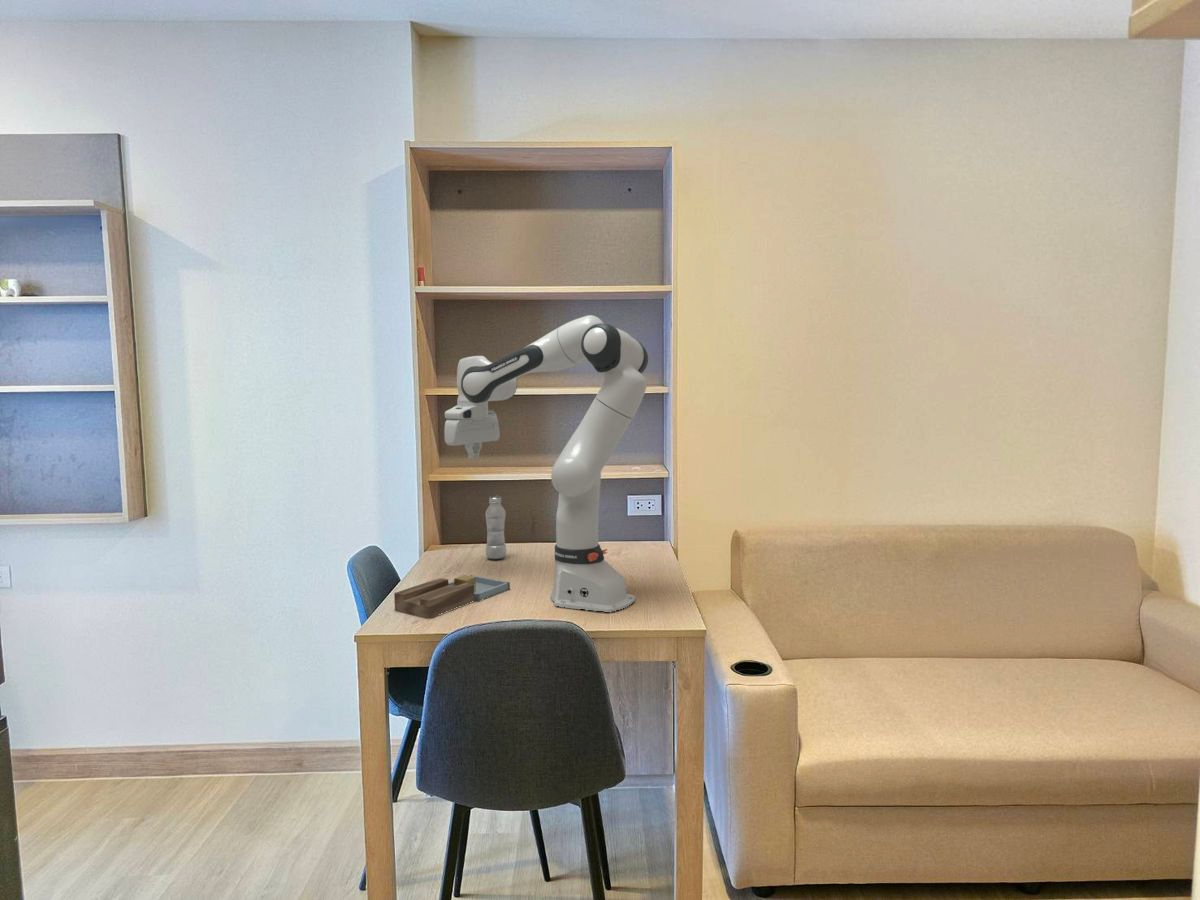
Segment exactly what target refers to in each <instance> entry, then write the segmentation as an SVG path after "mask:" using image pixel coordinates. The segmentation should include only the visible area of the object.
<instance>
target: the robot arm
mask: <svg viewBox="0 0 1200 900" xmlns="http://www.w3.org/2000/svg"><path fill="white" fill-rule="evenodd" d="M586 360H587V361H588V362H589V364H591V365H592V367H593V368H594V369H595V371H596V372H598V373H602V374H603V377H604V378H603V382H602V385H601V387H600V389H599V390H598V392H597V394H596V396H595V397H594V398H593V401H592V403H591V404H590V406H589V408H588V409H587V411H586V412H585V415H584V417H583V418H582V420H581V421H580V423H579V425H578V426H577V428H576V429H575V431H574V433H573V434H572V435H571V436H570V438H569V440H568V441H567V443H566V444H565V446H564V447H563V450H562V451H561V453H560V454H559V455H558V457H557V459H556V460H555V462H554V464H553V466H552V469H551V472H550V473H551V475H550V478H551V480H550V481H551V485H552V486H553V488H554V489H555V490H556V491H557V492H558V500H557V509H556V515H555V532H556V533H555V539H556V542H555V545H554V560H555V574H554V581H553V585H552V586H553V587H552V591H551V594H550V600H551V601H552V602H554V604H553V605H554V607H557V606H559V607H558V608H564V607H565V608H566V609H572V610H574V609H575V610H580V609H585V610H584V611H588V610H594V611H593V612H596V611H604V612H610V611H615V612H617V611H616V610H619V611H621V610H620V609H622V610H624V609H626V608H628V607H630V606H631V605H630V604H632V603H633V602H634V601H635V602H636V596H635V595H633V594H630V593H628V592H627V585H626V581H625V578H624V576H623V575H621V573H619V572H618V571H617V570H616V569H615V568H613V566H612V565H610V564H609V563H608V561H606V560H605V556H604V555H605V554H607V553H608V552H607V551H608V548H605V549H602V548H601V545H600V544H599V510H600V509H599V508H600V499H601V498H600V497H601V484H602V483H601V482H602V480H601V479H602V477H601V476H602V470H603V469H604V467H605V466H606V464H607V462H608V460H609V459H610V458H611V456H612V455H613V453H614V452H615V449H616V448H617V446H618V445H619V443H620V442H621V439H622V437H623V436H624V435H625V432H626V431H627V429H628V427H629V426H630V424H631V422H632V421H633V419H634V417H635V415H636V414H637V411H638V410H639V408H640V405H641V403H642V401H643V398H644V395H645V393H646V389H647V387H648V386H647V385H648V384H647V380H646V378H645V377H644V375H643V373H644V371H645V370H646V368H647V366H648V365H649V364H648V363H649V354H648V351H647V349H646V348H645V346H644V345H643V343H641V342H640V341H639V340H637V339H635V338H634V337H632V336H631V335H630V334H629V333H627V332H626V331H624V330H622V329H620V328H617V327H615V326H614V325H612V324H609V323H608V324H607V323H604V322H603V320H602V319H600V317H598V316H595V315H592V314H589V315H585V316H581V317H579V318H575V319H573V320H570V321H568V322H566V323H564V324H562V325H560V326H559V327H557V328H555V329H554V330H552V331H549V332H548V333H547V334H545V335H544V336H541V337H540V338H539V339H536V340H535V341H534V342H531V343H530V344H528V345H526V346H525V347H523V348H521V349H519V350H517V351H515V352H512V353H511V354H509V355H506V356H504V357H502V358H500V359H498V360H496V361H494V362H491V361H490V360H489V359H488V358H487V357H485V356H484V355H481V354H480V355H479V354H474V355H468V356H464V357H462V358H460V359H459V360H458V364H457V369H456V388H457V391H458V396H457V401H456V402H457V404H456V405H455V406H453V407H452V408H450V409H448V410H446V411H444V418H445V419H446V421H445V422H444V443H445V444H446V445H447V446H454V447H455V446H463V445H464V448H465V450H466V452H467V458H468V460H475V459H479V458H480V452H481V449H482V447H483V443H488V442H497V441H499V439H500V437H501V435H500V434H501V433H500V425H499V419H498V416H497V413H496V412H495V411H494V410H493V409H489V402H497V401H506V400H508V399H510V398H512V397H514V395H515V394H516V392H517V389H518V379H517V378H519V377H521V376H524V375H527V374H532V373H549V372H560V371H562V370H566V369H569V368H572V367H574V366H576V365H578V364H581V363H582V362H584V361H586ZM635 602H634V603H635ZM634 603H633V604H634ZM633 604H632V605H633ZM629 605H630V606H629ZM627 606H628V607H627ZM625 607H626V608H625ZM623 608H624V609H623ZM604 612H603V613H604ZM610 613H611V612H610Z"/></svg>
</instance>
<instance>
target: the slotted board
mask: <svg viewBox="0 0 1200 900" xmlns="http://www.w3.org/2000/svg"><path fill="white" fill-rule="evenodd" d="M448 583H449V579H448V578H443V577H442V578H441V577H439V578H436V579H433V580H430V581H427V582H424V583H420V584H418V585H414V586H411V587H408V588H405V589H402V590H399V591H396V592H394V597H393V598H394V611H396V612H400V613H403V614H408V615H411V614H412V615H413V616H415V615H416V617H419V616H420V618H424V617H425V618H424V619H428V618H431V619H432V617H433V618H435V617H434V616H436V617H438V616H440V615H439V614H441V613H443V614H445V613H444V612H446V611H449V610H451V609H454V608H456V607H459V606H462V605H464V606H466V605H465V604H467V603H469V604H471V603H470V602H472V601H474V585H473V584H468V583H464V584H461V585H458V586H451V585H449V584H448ZM474 602H475V601H474ZM472 603H473V602H472ZM467 605H468V604H467ZM462 607H463V606H462ZM459 608H460V607H459ZM456 609H457V608H456ZM454 610H455V609H454ZM451 611H452V610H451ZM449 612H450V611H449ZM446 613H447V612H446ZM437 615H438V616H437ZM441 615H442V614H441Z"/></svg>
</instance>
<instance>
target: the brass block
mask: <svg viewBox="0 0 1200 900" xmlns="http://www.w3.org/2000/svg"><path fill="white" fill-rule="evenodd" d="M453 581H454V586H458V585H461V584H464V583H468V584H473V585H474V592H476V579H475V577H473V576H470V575H467V574H464V575H463V574H462V575H460V576H458V577H455V578H453Z"/></svg>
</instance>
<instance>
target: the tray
mask: <svg viewBox="0 0 1200 900" xmlns="http://www.w3.org/2000/svg"><path fill="white" fill-rule="evenodd" d="M469 576H473V577H475V579H476V592H474V602H476V601H479V602H481V601H480V600H482V599H484V600H486V599H485V598H487V597H489V598H491V597H490V596H492V597H494V596H497V595H499V594H502V593H504V591H505V592H507V591H509V590H510V589H511V588H510V587H511V583H510V581H505V580H501V579H495V578H489V577H484V576H478V575H473V574H471V575H469ZM448 584H449V585H451V586H454V580H452V581H448ZM506 590H507V591H506ZM501 592H502V593H501ZM498 593H499V594H498ZM496 594H497V595H496ZM493 595H494V596H493ZM487 599H488V598H487ZM482 601H483V600H482Z"/></svg>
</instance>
